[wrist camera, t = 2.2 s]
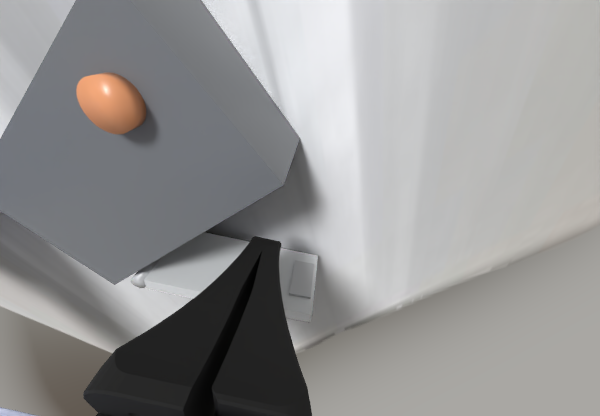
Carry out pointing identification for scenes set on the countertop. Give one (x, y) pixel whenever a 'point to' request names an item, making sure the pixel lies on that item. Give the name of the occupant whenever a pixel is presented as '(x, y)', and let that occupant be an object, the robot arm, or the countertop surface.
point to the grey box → (139, 135)
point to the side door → (216, 259)
